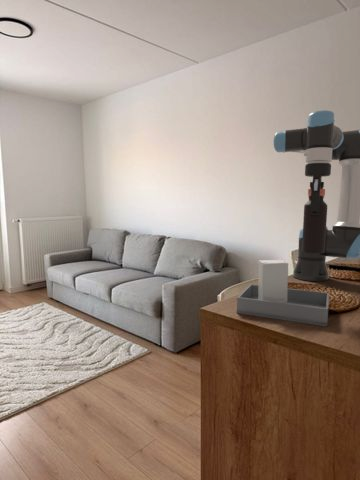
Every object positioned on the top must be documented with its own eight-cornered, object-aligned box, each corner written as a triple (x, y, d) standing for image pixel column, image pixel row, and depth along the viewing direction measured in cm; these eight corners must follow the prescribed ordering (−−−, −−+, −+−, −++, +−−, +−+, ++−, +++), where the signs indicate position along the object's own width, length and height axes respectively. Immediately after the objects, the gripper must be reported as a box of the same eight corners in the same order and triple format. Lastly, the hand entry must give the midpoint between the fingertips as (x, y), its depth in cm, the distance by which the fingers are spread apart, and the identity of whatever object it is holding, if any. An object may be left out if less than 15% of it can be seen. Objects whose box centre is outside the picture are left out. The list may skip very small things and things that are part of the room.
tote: (249, 297, 121) (250, 284, 120) (328, 307, 110) (329, 292, 110) (236, 312, 105) (237, 297, 104) (327, 326, 94) (328, 309, 93)
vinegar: (327, 253, 103) (332, 188, 101) (305, 253, 104) (309, 188, 102) (320, 250, 110) (323, 189, 108) (299, 250, 111) (302, 189, 108)
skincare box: (281, 302, 112) (283, 259, 110) (287, 308, 106) (289, 262, 104) (256, 302, 112) (258, 259, 110) (261, 308, 106) (263, 262, 104)
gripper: (307, 166, 113) (303, 235, 116) (303, 160, 99) (299, 239, 102) (331, 165, 110) (327, 236, 113) (330, 159, 96) (325, 241, 99)
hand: (313, 237), depth 107 cm, fingers closed on vinegar, 2 cm apart
